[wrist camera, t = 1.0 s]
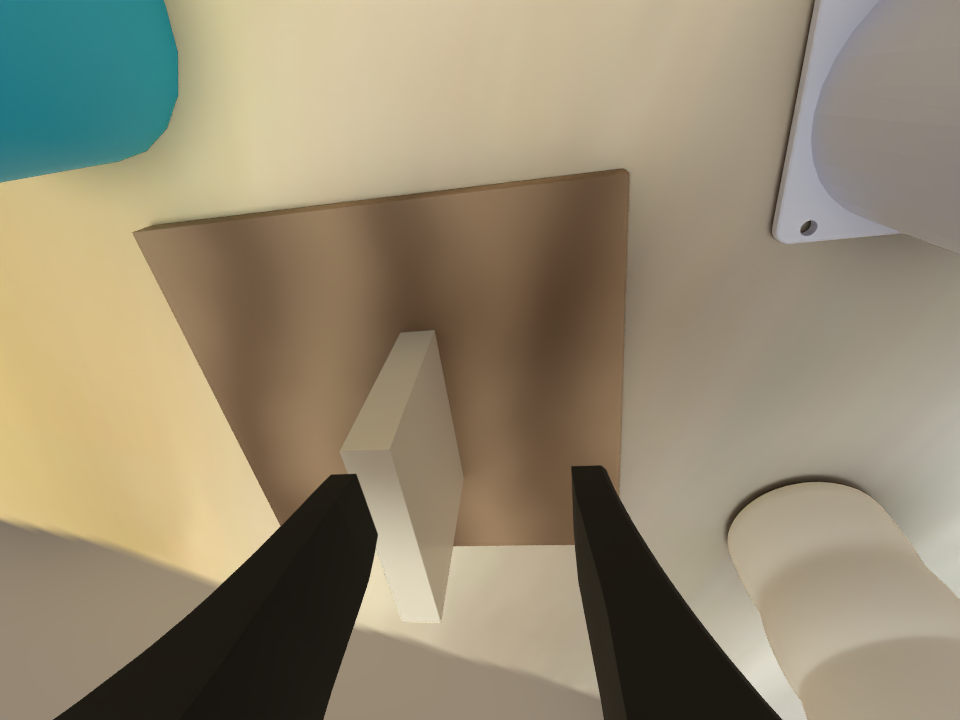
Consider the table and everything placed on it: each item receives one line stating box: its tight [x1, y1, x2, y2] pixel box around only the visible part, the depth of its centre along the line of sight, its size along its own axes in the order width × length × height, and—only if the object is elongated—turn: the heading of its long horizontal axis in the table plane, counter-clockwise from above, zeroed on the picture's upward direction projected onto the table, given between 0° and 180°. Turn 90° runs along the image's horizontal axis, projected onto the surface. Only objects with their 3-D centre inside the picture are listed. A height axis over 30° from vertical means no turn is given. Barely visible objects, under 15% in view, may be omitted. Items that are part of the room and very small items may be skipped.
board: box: [132, 169, 629, 546], centre depth 21 cm, size 18×18×1 cm
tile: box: [340, 330, 464, 623], centre depth 17 cm, size 2×8×7 cm, turn 8°
